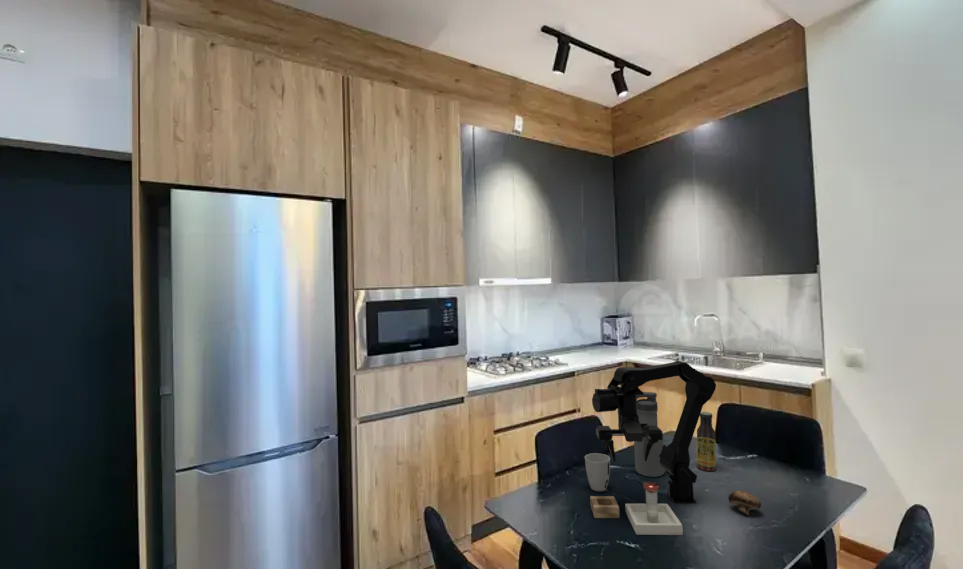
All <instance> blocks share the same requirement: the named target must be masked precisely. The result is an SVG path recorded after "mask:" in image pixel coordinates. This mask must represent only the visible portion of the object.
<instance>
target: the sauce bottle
mask: <svg viewBox="0 0 963 569" xmlns="http://www.w3.org/2000/svg"><path fill="white" fill-rule="evenodd" d="M699 420H700V423H699V426H698V428H697V429H696V467H697V468H698V469H700V470H702V471H707V472H713V471H715V470H716V468H717V467H716V466H717V439H716V436H717V435H716V430H715V429H714V427H713V413H711V412H709V411H701V413H700V416H699Z"/></svg>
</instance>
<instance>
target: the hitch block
mask: <svg viewBox="0 0 963 569" xmlns="http://www.w3.org/2000/svg"><path fill="white" fill-rule="evenodd" d="M589 498H590V499H589V500H590V508H591V511H592V513H593V514H592V515H593V517H594V519H620V506H619V504H618V502H617V500H616V498H615V496H614V495H608V496H607V495H605V496H604V495H595V496H594V495H590V497H589Z"/></svg>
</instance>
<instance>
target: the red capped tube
mask: <svg viewBox="0 0 963 569" xmlns="http://www.w3.org/2000/svg"><path fill="white" fill-rule="evenodd" d="M642 486H643V489H644V490H645V504H646V510H647V521H648V522H649V523H658V504H659V503H658V502H659V501H658V491H659V490H660V485H659V484H658V483H657V482H655V481H644V482H643V485H642Z"/></svg>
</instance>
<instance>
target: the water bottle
mask: <svg viewBox="0 0 963 569" xmlns="http://www.w3.org/2000/svg"><path fill="white" fill-rule="evenodd" d="M642 392H643V393H644V394H643V395H637V411H638V418H639V422H640V423H648V425H656V426H657V427H658V428H659V426H658V402H657V396H658V394H657V393H656V392H652V391H651V392H650V391H648V392H647V391H642ZM659 429H660V430H661V431H662V433H663V434H664V432H663V430H662V429H661V428H659ZM633 445H634V468H635V471H636V472H637V474H639V475H641V476H644V477H649V478H658V477H661V476H663V475H664V474H665V473H666V472H665V469H663V468H662V466H661V464H660V457H659V455H660V454H661V451H662V447H663V445H664V439H663V440H658V442H657V443H654V444H653V445H652V447H651V449H650V452H649V455H648V458H647V461H644V454H643V441H642V442H638V441H633Z"/></svg>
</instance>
